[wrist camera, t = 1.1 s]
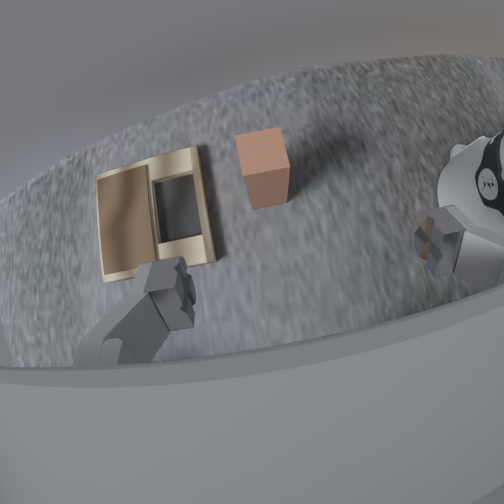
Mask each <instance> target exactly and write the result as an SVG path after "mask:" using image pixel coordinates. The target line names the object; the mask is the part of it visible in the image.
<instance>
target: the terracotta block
mask: <svg viewBox="0 0 504 504" xmlns="http://www.w3.org/2000/svg"><path fill="white" fill-rule="evenodd" d="M235 138H236V143H237V148H238V153H239V158H240V163H241V168H242V173H243V178H244V181H245V184H246V188H247V191H248V195H249V198H250V202H251V205H252V209H258V208H263V207H268V206H273V205H278V204H283V203H287V196H288V186H289V175H290V164H289V160H288V156H287V152H286V148H285V145H284V141H283V137H282V133H281V130H280V127H276V128H271V129H265V130H260V131H255V132H250V133H245V134H240V135H235Z"/></svg>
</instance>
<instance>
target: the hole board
mask: <svg viewBox="0 0 504 504" xmlns="http://www.w3.org/2000/svg"><path fill="white" fill-rule="evenodd" d="M96 201H97V220H98V235H99V247H100V257H101V266H102V275H103V283H112V282H117V281H122V280H127V279H132V278H135V275H136V272H137V268H138V266H139V264H141V263H144V262H149V261H155V260H160V259H166V258H172V257H177V256H182V257H184V259H185V262H186V264H187V268H188V267H193V266H198V265H203V264H208V263H213V262H217V259H216V254H215V248H214V242H213V236H212V230H211V224H210V218H209V212H208V206H207V200H206V193H205V187H204V180H203V174H202V167H201V161H200V154H199V149H198V148H197V146H193V147H189V148H185V149H181V150H178V151H174V152H170V153H167V154H163V155H159V156H156V157H153V158H149V159H146V160H142V161H139V162H136V163H133V164H129V165H126V166H123V167H120V168H117V169H114V170H111V171H108V172H105V173H102V174H99V175H96Z"/></svg>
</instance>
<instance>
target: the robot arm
mask: <svg viewBox="0 0 504 504" xmlns="http://www.w3.org/2000/svg"><path fill="white" fill-rule="evenodd" d="M438 202H439V207H440V208H435V209H430V210H425V211H420V212H418V215H417V219H416V223H417V224H418V226H419V227H418V229H417V230H416V232H415V235H414V244H415V249H416V251H417V254H418V255H419V257H420V258H422V259H424V260H426V261H427V263H426V266H427V268H428V269H429V271H430V272H431V273H432V275H433V276H434V278H436V277H440V276H444V275H448V274H452V273H454V275H455V276H457V277H458V278H460V279H461V280H463V281H464V282H466V283H467V284H469V285H470V286H472V287H473V288H475V289H476V290H478V291H479V292H480V293H477V294H474V295H471V296H468V297H465V298H462V299H459V300H456V301H453V302H450V303H447V304H444V305H441V306H437V307H434V308H431V309H428V310H424V311H421V312H417V313H414V314H410V315H407V316H403V317H400V318H396V319H392V320H389V321H385V322H381V323H377V324H373V325H369V326H366V327H361V328H357V329H353V330H349V331H345V332H340V333H336V334H332V335H327V336H322V337H318V338H313V339H308V340H303V341H298V342H293V343H288V344H283V345H277V346H272V347H266V348H260V349H254V350H248V351H241V352H235V353H228V354H221V355H214V356H206V357H198V358H190V359H181V360H172V361H162V362H151V360H152V359H153V357H154V356H155V354H156V353H157V351H158V350H159V348H160V347H161V345H162V344H163V342H164V341H165V340H166V338H167V337H168V335H169V334H170V331H176V330H183V329H188V328H194V318H195V312H194V309H193V307H192V306H193V305H194V304H195V303H196V292H195V286H194V282H193V279H192V276H191V275H189V274H188V273H186V271H187V264H186V262H185V259H184V257H182V256H177V257H172V258H166V259H160V260H155V261H149V262H144V263H141V264H139V266H138V268H137V272H136V275H135V278H134V281H133V284H132V288H131V291H130V294H129V296H125V297H124V298H123V299H122V300H121V301H120V302H119V303H118V304H117V305H116V306H115V307H114V308H113V309H112V310H111V311H110V312H109V313H108V314H107V315H106V316H105V317H104V318H103V319H102V320H101V321H100V322H99V323H98V324H97V325H96V326H95V327H94V328H93V329H92V330H91V331H90V332H89V333H88V334H87V335H86V336H85V337H84V338H83V339H82V340H81V341H80V344H79V347H78V350H77V353H76V356H75V359H74V363H73V366H72V367H10V366H0V504H504V130H503V131H501V132H499V133H498V134H497V135H495V136H494V137H493V138H487V137H485V136H481V137H479V138H478V139H477V140H475V141H474V142H472V143H471V144H469V145H468V146H467V145H461V144H456V145H455V146H453V147H452V149H451V152H450V160H449V162H448V164H447V165H446V166H445V167H444V169H443V170H442V172H441V175H440V178H439V181H438ZM150 362H151V363H150Z"/></svg>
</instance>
